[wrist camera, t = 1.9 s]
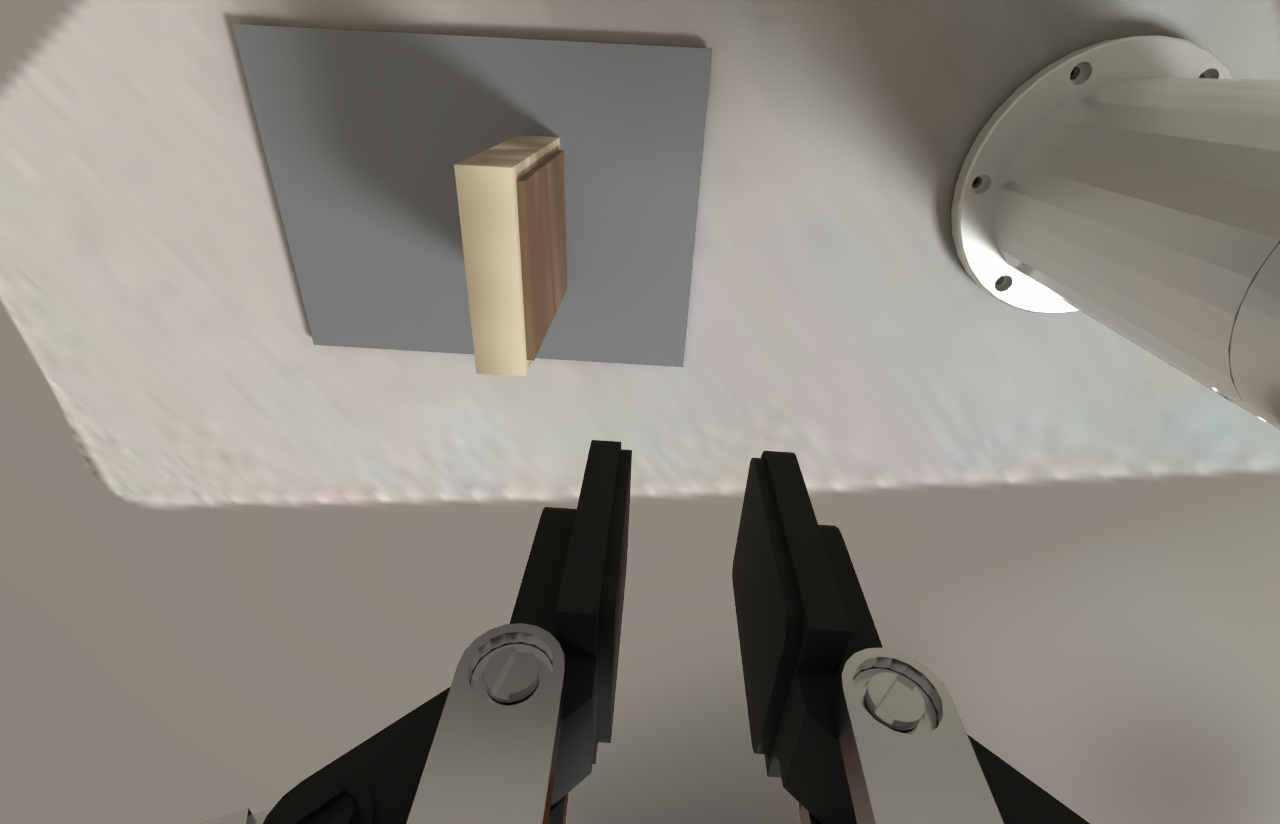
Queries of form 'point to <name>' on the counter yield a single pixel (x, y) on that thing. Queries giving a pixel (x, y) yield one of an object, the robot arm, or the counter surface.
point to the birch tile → (513, 248)
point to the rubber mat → (456, 130)
